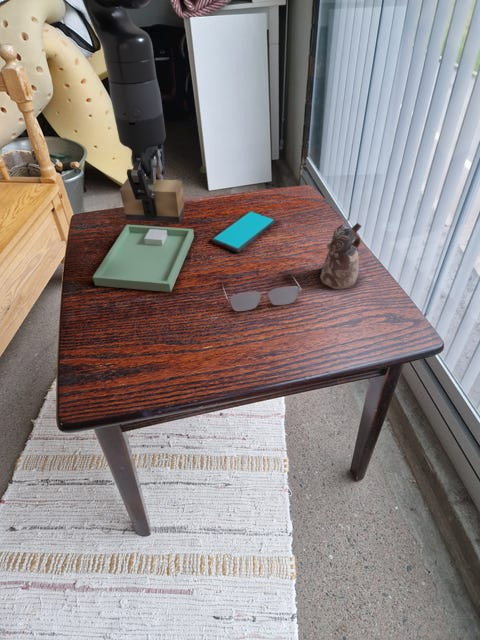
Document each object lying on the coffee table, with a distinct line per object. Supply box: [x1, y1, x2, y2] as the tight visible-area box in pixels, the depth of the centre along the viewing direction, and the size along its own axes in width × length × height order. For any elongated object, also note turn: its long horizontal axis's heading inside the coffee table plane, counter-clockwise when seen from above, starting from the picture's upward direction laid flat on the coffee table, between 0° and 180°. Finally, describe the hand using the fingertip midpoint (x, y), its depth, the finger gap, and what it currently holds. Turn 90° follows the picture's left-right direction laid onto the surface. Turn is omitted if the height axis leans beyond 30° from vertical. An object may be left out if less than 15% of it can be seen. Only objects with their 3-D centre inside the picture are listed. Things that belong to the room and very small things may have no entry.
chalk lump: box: [144, 229, 168, 246], centre depth 93 cm, size 4×4×2 cm
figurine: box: [319, 222, 362, 290], centre depth 80 cm, size 7×7×12 cm
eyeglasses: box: [221, 273, 302, 312], centre depth 80 cm, size 14×8×4 cm, turn 102°
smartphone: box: [211, 210, 276, 253], centre depth 96 cm, size 7×1×15 cm
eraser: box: [119, 177, 185, 224], centre depth 76 cm, size 10×4×6 cm, turn 83°
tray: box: [92, 224, 195, 293], centre depth 89 cm, size 16×20×2 cm
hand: (154, 208), depth 77 cm, fingers closed on eraser, 4 cm apart
